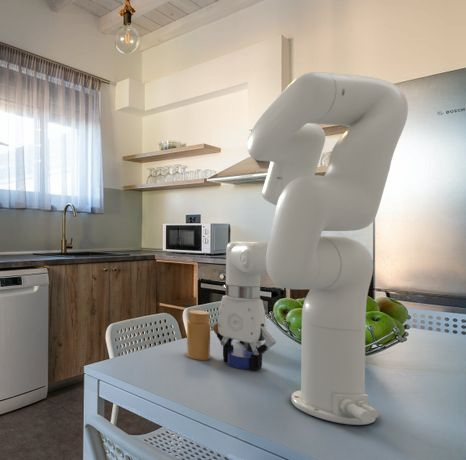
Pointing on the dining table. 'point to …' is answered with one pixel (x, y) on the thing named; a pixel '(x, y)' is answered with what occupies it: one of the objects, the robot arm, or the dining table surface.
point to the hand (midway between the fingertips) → (241, 365)
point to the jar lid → (239, 359)
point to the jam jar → (198, 335)
